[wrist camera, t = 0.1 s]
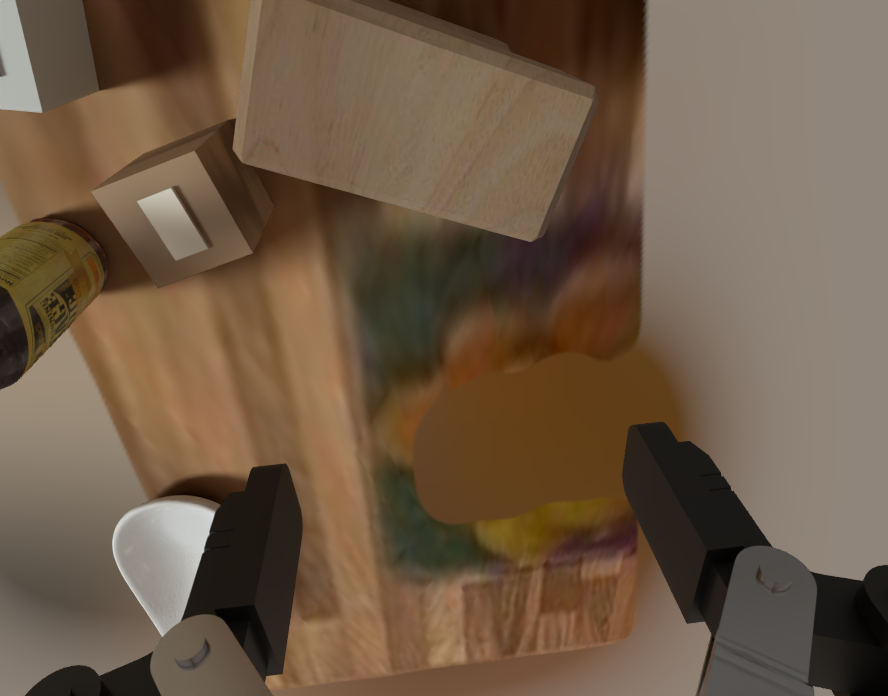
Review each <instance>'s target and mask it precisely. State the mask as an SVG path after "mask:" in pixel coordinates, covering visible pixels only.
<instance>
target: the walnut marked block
mask: <svg viewBox="0 0 888 696" xmlns="http://www.w3.org/2000/svg"><path fill="white" fill-rule="evenodd" d="M234 133H235V130H234V128H233V126H232V125H231V123H230V121H229V120H227V121H225V122H222V123H220V124H217V125H214V126H212V127H209V128H207V129H204V130H202V131H199V132H197V133H194V134H192V135H189V136H187V137H184V138H182V139H179V140H177V141H174V142H172V143H169V144H167V145H164V146H162V147H159V148H157V149H154V150H151V151H149V152H146V153H144V154H142V155H141V156H140V157H138V158H137V159H135V160H134V161H133V162H131V163H130V164H128V165H127V166H126V167H124V168H123V169H121V170H120V171H119V172H117V173H116V174H114V175H113V176H112V177H110V178H109V179H107V180H106V181H105V182H103V183H102V184H100V185H99V186H98V187H96V188H95V189H93V190H92V191H91V193H92V194H93V196H94V197H95V199H96V200H97V201H98V203H99V204H100V206H101V207H102V209H103V210H104V211H105V213H106V214H107V216H108V217H109V219H110V220H111V222H112V223H113V224H114V226H115V227H116V229H117V230H118V232H119V233H120V234H121V236H122V237H123V239H124V240H125V242H126V243H127V245H128V246H129V247H130V249H131V250H132V252H133V253H134V255H135V256H136V257H137V259H138V260H139V262H140V263H141V265H142V266H143V268H144V269H145V270H146V272H147V273H148V275H149V276H150V278H151V279H152V280H153V282H154V283H155V285H156V286H157V288H160V287H163V286H166V285H168V284H171V283H174V282H177V281H179V280H182V279H185V278H187V277H190V276H193V275H196V274H198V273H201V272H204V271H206V270H209V269H212V268H214V267H217V266H220V265H223V264H225V263H228V262H231V261H233V260H236V259H239V258H241V257H244V256H247V255H250V254H252V253H253V252H254V250H255V248H256V246H257V244H258V241H259V239H260V237H261V235H262V233H263V231H264V229H265V227H266V225H267V223H268V220H269V218H270V216H271V214H272V212H273V210H274V208H275V207H274V205H273V203H272V201H271V199H270V197H269V195H268V193H267V192H266V190H265V188H264V186H263V184H262V182H261V180H260V178H259V176H258V174H257V172H256V170H255V169H254V167H253V166H251V165H247V164H244V163H242V162H241V160H240V159H239V158H238V156H237V155H236V153H235V152H234V151H233V141H234Z"/></svg>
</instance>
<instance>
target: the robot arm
mask: <svg viewBox="0 0 888 696" xmlns="http://www.w3.org/2000/svg"><path fill="white" fill-rule="evenodd" d="M622 478H623V486H624V490H625V493H626V496H627V499H628V501H629V503H630V505H631V507H632V509H633V512H634V514H635V516H636V518H637V520H638V522H639V524H640V526H641V528H642V531H643V533H644V535H645V537H646V539H647V541H648V543H649V545H650V547H651V549H652V552H653V553H654V556H655V558H656V560H657V562H658V564H659V566H660V568H661V570H662V573H663V574H664V577H665V579H666V581H667V583H668V585H669V587H670V589H671V591H672V593H673V596H674V598H675V600H676V602H677V604H678V606H679V608H680V610H681V612H682V615H683V617H684V619H685V621H686V622H687V624H688V623H696V622H703V621H705V622H706V624H707V626H708V628H709V630H710V632H711V638H710V641H709V644H708V649H707V652H706V656H705V660H704V664H703V668H702V673H701V676H700V680H699V684H698V689H697V693H696V696H814V688H813V686H816V687H821V688H826V689H830V690H832V692H833V694H834V695H835V696H888V565H883V566H877V567H875V568H872V569H871V570H870V571H869V572H868V573H867V574H866V576H865V578H864V580H863V581H860V580H853V579H847V578H840V577H834V576H828V575H822V574H817V573H814V572H811V571H809V570H808V568H807V567H806V566H805V565H804V564H803V563H802V562H800V561H799V560H798V559H797V558H795V557H794V556H792V555H790V554H789V553H787V552H785V551H782V550H780V549H776V548H773V547H772V546H771V544H770V543H769V542H768V540H767V539H766V537H765V536H764V534H763V533H762V532H761V530H760V529H759V527H758V526H757V525H756V523H755V521H754V520H753V519H752V517H751V516H750V514H749V513H748V511H747V510H746V509H745V507H744V506H743V504H742V503H741V501H740V500H739V499H738V497H737V495H736V494H735V493H734V491H731V487H730V485H729V484H728V483H727V481H726V479H725V478H724V477H722V476H721V472H720V471H719V469H718V468H717V466H716V465H715V464H714V462H713V461H712V459H711V458H710V456H709V455H708V454H706V453H705V452H704V451H702V450H701V449H700V448H698V447H697V446H696V445H694V444H693V443H692V442H690V441H686V442H678V441H677V440H676V438H675V437H674V435H673V433H672V432H671V430H670V429H669V427H668V426H667V425H666V424H665V423H664V422H655V423H646V424H638V425H631V426H630V427H629V430H628V435H627V443H626V449H625V457H624V464H623V472H622ZM301 540H302V514H301V509H300V505H299V502H298V498H297V495H296V491H295V488H294V484H293V481H292V478H291V474H290V471H289V468H288V466H287V464H276V465H268V466H259V467H253V468H252V469H251V471H250V474H249V478H248V482H247V486H246V489H245V491H242V492H234V493H230V494H229V495H228V496H227V498H226V499H225V500H224V501H223V503H222V504H221V505H220V507H219V508H218V509H217V510H216V512H215V515H214V518H213V521H212V524H211V527H210V531H209V536H208V537H207V540H206V544H205V547H204V553H202V556H201V560H200V563H199V566H198V569H197V572H196V576H195V579H194V582H193V585H192V589H191V592H190V595H189V598H188V601H187V605H186V608H185V611H184V614H183V617H182V619H181V621H180V622H179V623H178V624H176V625H175V626H174V627H172V628H171V629H170V630H169V631H168V632H167V633H166V634H165V635H164V636H163V637H162V638H161V639H160V641H159V642H158V644H157V646H156V647H155V649H154V651H153V652H151V653H150V654H148V655H146V656H144V657H142V658H140V659H138V660H136V661H133V662H131V663H129V664H126V665H124V666H122V667H120V668H117V669H115V670H112V671H111V672H108V673H105V674H103V675H101V676H99V675H98V674H97V673H96V672H95V671H94V670H93V669H91V668H90V667H87V666H81V665H77V666H70V667H66V668H63V669H60V670H58V671H56V672H54V673H52V674H50V675H48V676H47V677H45V678H44V679H42V680H41V681H40V682H38V683H37V684H36V685H35V686H34V687H33V688H32V689H31V690H30V691H29V692H28V693H27V694H26V695H25V696H273V695H272V693H271V692H270V690H269V689H268V687H267V686H266V684H265V679H266V676H270V675H278V674H283V667H284V660H285V653H286V646H287V639H288V631H289V624H290V617H291V610H292V603H293V596H294V589H295V582H296V575H297V568H298V561H299V554H300V547H301Z"/></svg>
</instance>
